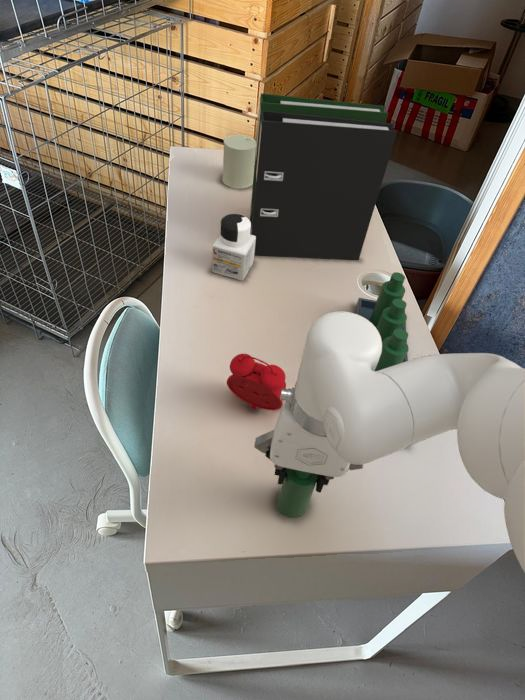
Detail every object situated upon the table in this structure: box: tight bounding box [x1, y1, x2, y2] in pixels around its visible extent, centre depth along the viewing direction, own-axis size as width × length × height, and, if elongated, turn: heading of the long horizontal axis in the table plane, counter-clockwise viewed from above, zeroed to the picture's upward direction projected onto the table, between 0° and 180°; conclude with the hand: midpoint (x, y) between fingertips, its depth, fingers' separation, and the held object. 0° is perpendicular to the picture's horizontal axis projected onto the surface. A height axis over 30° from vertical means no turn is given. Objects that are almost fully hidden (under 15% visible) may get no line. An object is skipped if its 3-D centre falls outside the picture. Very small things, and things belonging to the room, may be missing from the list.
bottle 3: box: [375, 328, 409, 371], centre depth 88 cm, size 5×5×14 cm
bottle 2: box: [376, 298, 408, 342], centre depth 93 cm, size 5×5×14 cm
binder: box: [249, 93, 398, 261], centre depth 111 cm, size 27×15×32 cm, turn 91°
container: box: [211, 213, 256, 281], centre depth 108 cm, size 8×8×13 cm
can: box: [221, 134, 257, 190], centre depth 136 cm, size 9×9×12 cm
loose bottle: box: [277, 468, 319, 519], centre depth 70 cm, size 5×5×14 cm
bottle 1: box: [370, 271, 406, 328], centre depth 98 cm, size 5×5×14 cm
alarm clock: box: [226, 353, 287, 411], centre depth 81 cm, size 10×6×15 cm, turn 67°
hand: (300, 478), depth 69 cm, fingers open, 4 cm apart
